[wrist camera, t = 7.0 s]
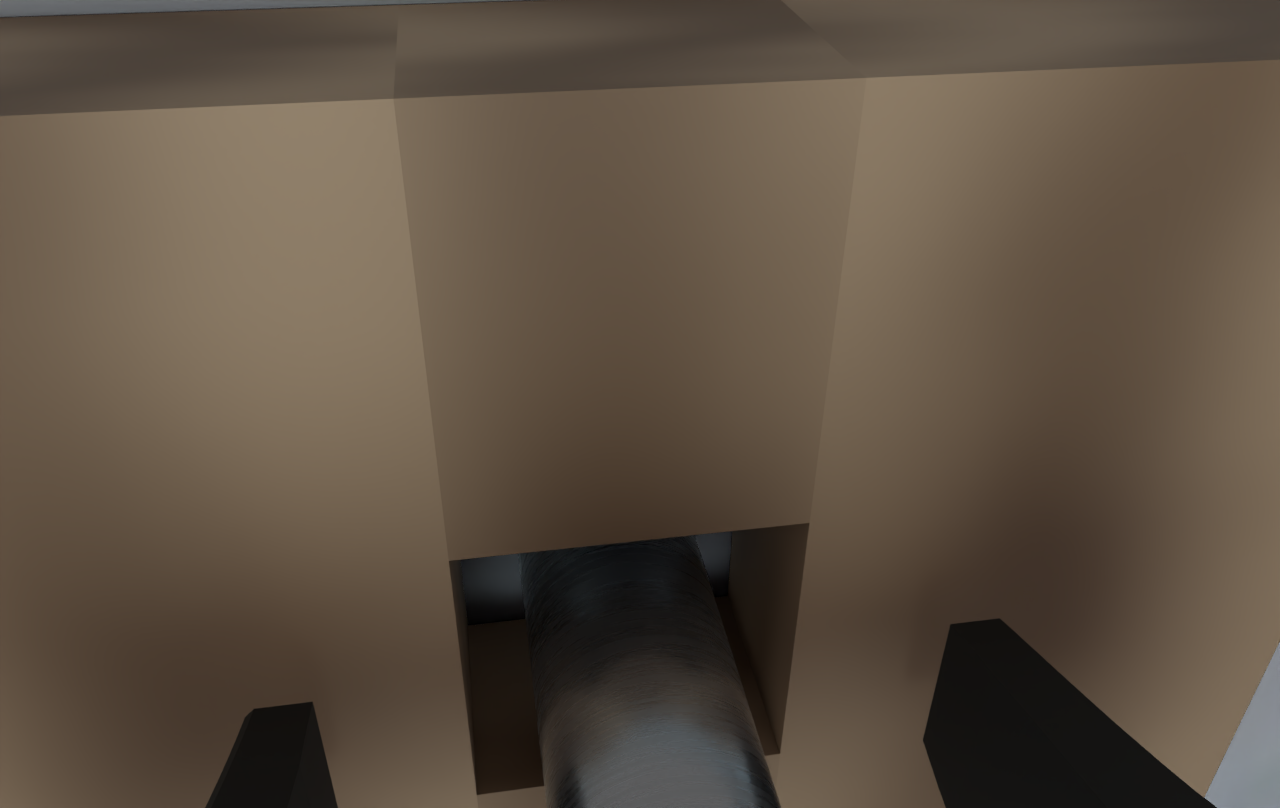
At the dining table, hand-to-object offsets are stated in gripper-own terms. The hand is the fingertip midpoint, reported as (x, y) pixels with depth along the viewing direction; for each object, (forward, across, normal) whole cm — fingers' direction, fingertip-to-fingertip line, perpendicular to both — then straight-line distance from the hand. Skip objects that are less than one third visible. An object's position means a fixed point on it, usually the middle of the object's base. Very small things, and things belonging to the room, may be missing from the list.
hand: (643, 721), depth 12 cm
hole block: (+4, 0, 0) cm, 4 cm away
